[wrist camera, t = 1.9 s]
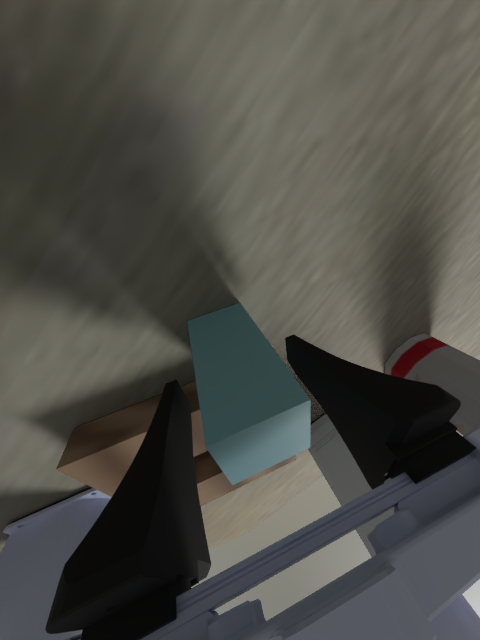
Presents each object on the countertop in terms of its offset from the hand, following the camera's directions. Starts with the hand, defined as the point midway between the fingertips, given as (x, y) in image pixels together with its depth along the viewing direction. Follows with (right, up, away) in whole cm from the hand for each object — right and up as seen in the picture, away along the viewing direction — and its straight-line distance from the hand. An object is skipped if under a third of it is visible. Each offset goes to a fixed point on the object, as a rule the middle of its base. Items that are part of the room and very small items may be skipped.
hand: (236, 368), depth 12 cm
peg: (-1, +2, +3) cm, 4 cm away
